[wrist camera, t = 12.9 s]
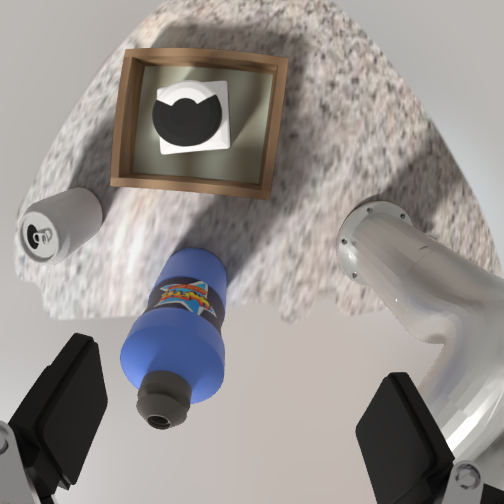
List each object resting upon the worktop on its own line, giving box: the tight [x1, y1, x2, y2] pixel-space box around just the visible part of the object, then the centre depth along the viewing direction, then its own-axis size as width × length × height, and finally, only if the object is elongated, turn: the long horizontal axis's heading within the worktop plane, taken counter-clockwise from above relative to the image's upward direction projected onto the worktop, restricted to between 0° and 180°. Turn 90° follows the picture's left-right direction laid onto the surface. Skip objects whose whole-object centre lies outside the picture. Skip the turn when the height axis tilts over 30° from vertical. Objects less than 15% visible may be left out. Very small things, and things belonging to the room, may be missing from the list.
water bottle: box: [120, 248, 227, 430], centre depth 31 cm, size 9×9×25 cm
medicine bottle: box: [152, 80, 231, 155], centre depth 29 cm, size 7×7×12 cm
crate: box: [110, 48, 289, 200], centre depth 32 cm, size 18×16×6 cm
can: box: [18, 187, 103, 265], centre depth 32 cm, size 8×8×12 cm
